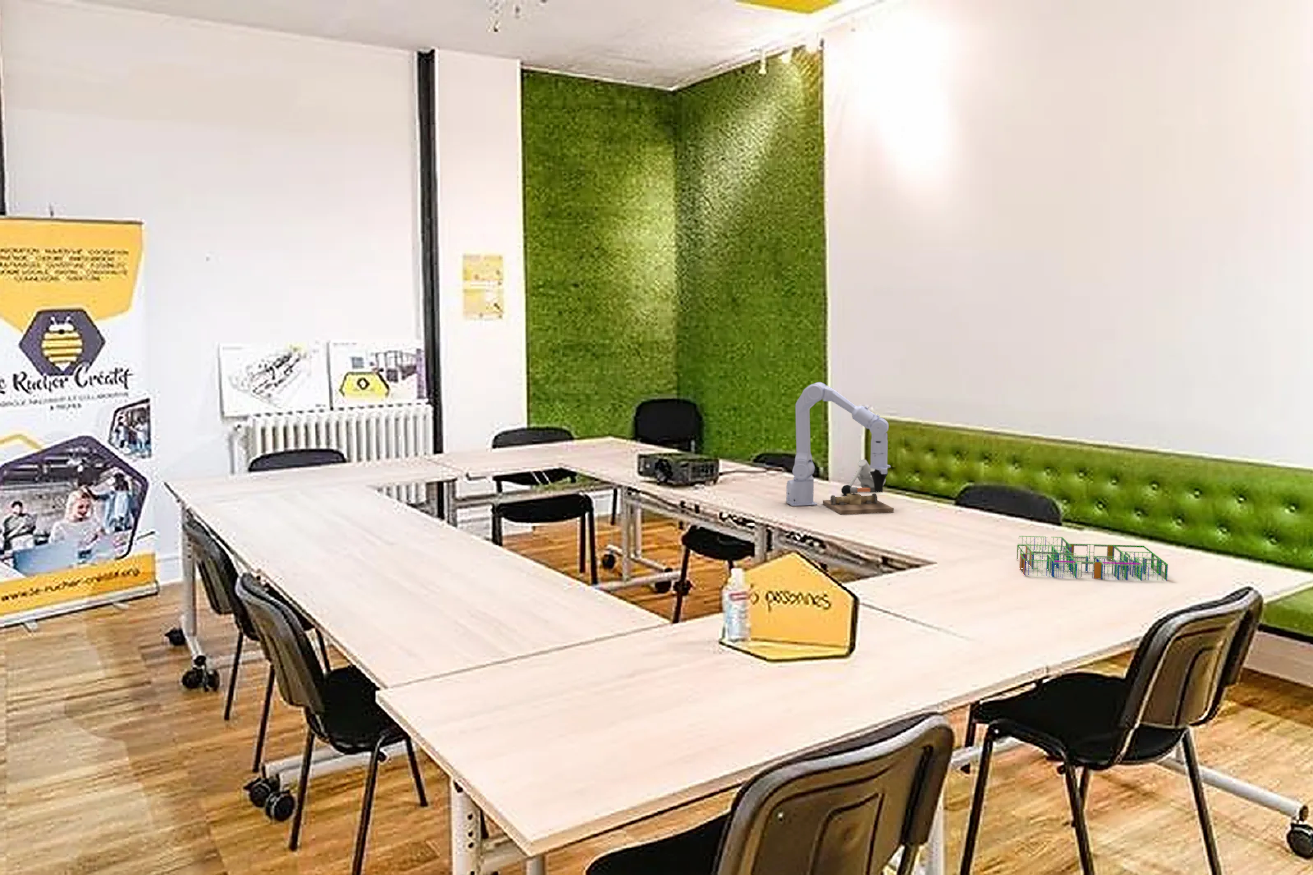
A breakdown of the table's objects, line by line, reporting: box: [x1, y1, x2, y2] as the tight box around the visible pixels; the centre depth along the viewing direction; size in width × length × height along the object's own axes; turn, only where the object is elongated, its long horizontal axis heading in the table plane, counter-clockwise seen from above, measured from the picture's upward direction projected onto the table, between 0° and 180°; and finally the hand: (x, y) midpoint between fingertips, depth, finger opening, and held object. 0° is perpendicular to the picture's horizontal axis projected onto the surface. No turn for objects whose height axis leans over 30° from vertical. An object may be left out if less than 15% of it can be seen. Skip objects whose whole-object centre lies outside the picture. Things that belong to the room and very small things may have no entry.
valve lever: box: [850, 486, 884, 494], centre depth 358 cm, size 11×3×2 cm, turn 93°
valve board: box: [822, 492, 895, 516], centre depth 357 cm, size 19×19×5 cm
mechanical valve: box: [840, 459, 887, 497], centre depth 388 cm, size 10×18×15 cm
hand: (878, 491), depth 357 cm, fingers closed, pressing on valve lever
